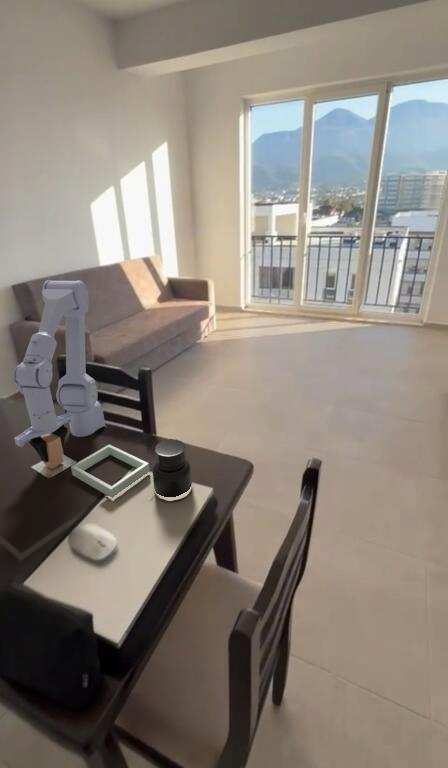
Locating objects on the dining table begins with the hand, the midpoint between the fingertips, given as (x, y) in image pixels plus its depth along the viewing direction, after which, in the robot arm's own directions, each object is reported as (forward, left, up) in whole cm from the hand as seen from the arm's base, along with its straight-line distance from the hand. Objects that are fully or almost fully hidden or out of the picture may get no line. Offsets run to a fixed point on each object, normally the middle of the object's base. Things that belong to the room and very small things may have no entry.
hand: (52, 456), depth 99 cm
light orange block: (0, 0, -2) cm, 2 cm away
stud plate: (0, 0, -3) cm, 3 cm away
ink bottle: (-11, +31, -4) cm, 33 cm away
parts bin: (-6, +15, -3) cm, 17 cm away
